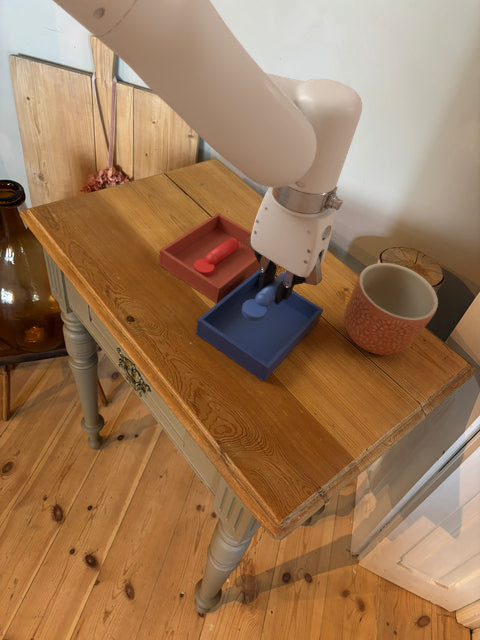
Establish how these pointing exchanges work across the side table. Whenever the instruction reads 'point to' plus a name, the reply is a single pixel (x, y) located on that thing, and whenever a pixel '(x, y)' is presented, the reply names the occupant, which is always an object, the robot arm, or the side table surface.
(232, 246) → the red spoon
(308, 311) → the blue bin
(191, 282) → the red bin
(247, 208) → the side table surface
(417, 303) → the planter
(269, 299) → the blue spoon
